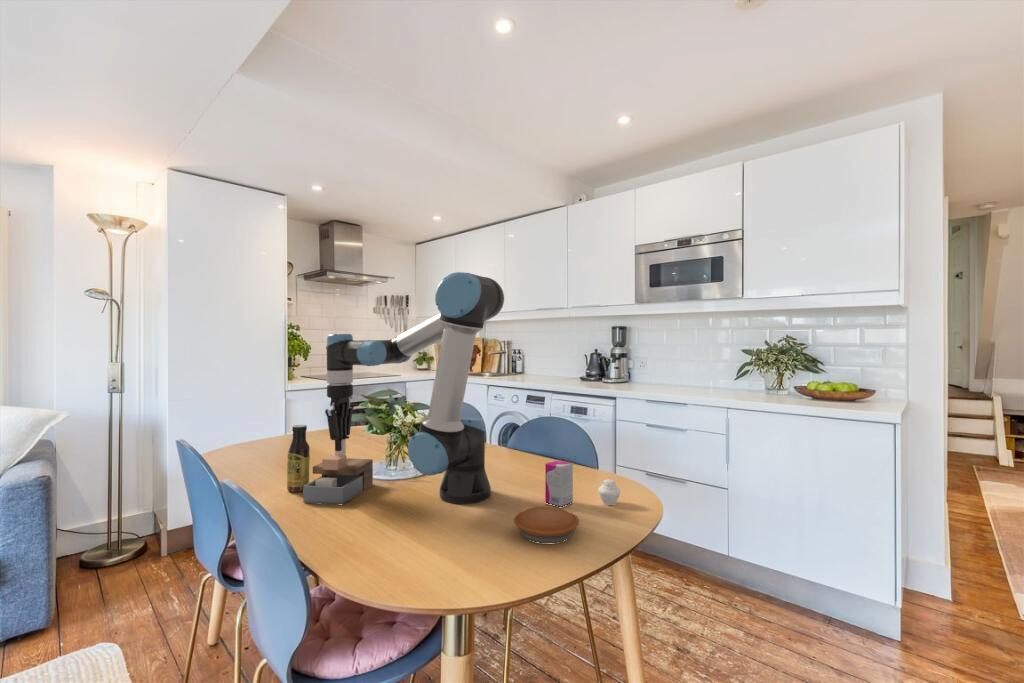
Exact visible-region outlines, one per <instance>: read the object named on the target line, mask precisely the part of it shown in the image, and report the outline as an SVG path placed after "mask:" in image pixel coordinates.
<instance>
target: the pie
mask: <svg viewBox="0 0 1024 683" xmlns="http://www.w3.org/2000/svg"><path fill="white" fill-rule="evenodd" d="M513 521H514V524H515V526H516V527H517V528H518V529H519V532H520V534H521V535H522V536H523V538H525V539H526V540H527V539H528V541H529V540H531V541H534V542H533V543H535V542H539V543H557V542H561V541H564V540H566V539H567V540H569V538H570V537H571V535H572V534H573V533H574V531H575V529H576V528H577V527H578V526H579V522H580V521H579V518H578V515H576V514H574V513H572V512H569V511H568V510H566V509H564V508H558V507H554V506H550V505H547V506H544V505H543V506H533V507H529V508H526V509H524V510H523V511H520V512H519V513H517V514H516V515H515V517H514V518H513ZM567 540H566V541H567ZM531 541H530V542H531ZM564 542H565V541H564ZM539 543H538V544H539ZM561 543H562V542H561ZM557 544H558V543H557Z"/></svg>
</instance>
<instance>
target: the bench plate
mask: <svg viewBox="0 0 1024 683" xmlns="http://www.w3.org/2000/svg"><path fill="white" fill-rule="evenodd" d="M346 458H347V457H346ZM373 466H374V465H373V458H372V459H371V458H352V457H351V458H347V466H345V467H343V468H341V469H339V470H324V469H322V462H320V463H318V464H315V465H314V466H312V474H313V475H314V474H315V475H321V476H323V475H325V474H333V475H359V476H363V491H365V490H367V489H368V488H369V487H372V485H374V484H373V483H374V481H373V480H374V478H373V477H374V476H373V475H374V473H373V471H374V470H373V469H374V468H373ZM366 488H367V489H366Z"/></svg>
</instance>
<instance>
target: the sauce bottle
mask: <svg viewBox="0 0 1024 683" xmlns="http://www.w3.org/2000/svg"><path fill="white" fill-rule="evenodd" d="M307 427H308V426H307V424H296V425H295V424H294V425H293V426H292V428H291V429H292V430H291V431H292V440H291V444H290V446H289V448H288V452H287V467H286V468H287V470H286V474H287V475H286V476H287V477H286V486H287V487H286V488H287V491H288V492H291V493H294V492H295V493H299V491H300V492H303V486H304V485H306V484H308V483H310V459H311V458H310V444H309V443H308V442H307Z"/></svg>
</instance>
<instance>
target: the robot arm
mask: <svg viewBox="0 0 1024 683" xmlns="http://www.w3.org/2000/svg"><path fill="white" fill-rule="evenodd" d="M434 301H435V305H436V306H437V310H438V313H437V314H434V315H433V316H431V317H429V318H427V319H425V320H424V321H422V322H420V323H418V324H416V325H414V326H412V327H411V328H409V329H408V330H406V331H404V332H401V333H400V334H398V335H395V337H393V338H391V339H381V340H380V339H367V340H366V339H363V340H362V339H361V340H359V339H358V340H354V338H353V337H354V336H353V334H351V333H329V334H328V335H327V337H326V346H325V349H326V383H327V386H326V396H327V398H330V402H329V406H330V407H329V408H326V409H325V412H324V413H325V415H326V417H327V418H326V419H327V425H328V431H329V432H328V433H329V439H330V440H331V441H334V455H341V456H346V457H347V454H346V453H347V452H346V450H347V449H346V448H347V447H346V446H347V445H346V444H347V443H346V439H348V440H349V439H350V436H351V425H352V419H353V418H352V416H353V411H354V406H355V405H354V403H350V398H351V397H353V396H354V386H353V385H354V384H352V383H353V382H354V372H353V371H354V370H353V369H354V368H353V367H354V366H365V367H375V366H380V365H387V364H388V365H390V364H402V363H405V362H406V363H407V362H408V361H409V360H410V359H411V357H412V355H414V354H416V353H419V352H421V351H422V350H424V349H426V348H428V347H430V346H432V345H434V344H437V343H438V342H440V341H441V342H440V347H439V354H438V359H437V364H436V370H435V376H434V380H433V386H432V392H431V396H430V397H431V398H430V403H429V408H428V414H426V415H425V416H424V417H422V418H421V420H420V426H419V432H417V433H415V434H414V435H413V436H412V437H411V438H410V439H409V441H408V445H407V455H408V459H409V461H410V462H411V463H412V466H413V467H414V469H415V470H416V471H418V472H419V473H420V474H422V475H425V476H435V475H441V474H443V477H442V480H441V482H440V487H439V499H441V500H442V501H444V502H446V503H447V502H448V503H452V504H459V505H460V504H475V503H479V502H482V501H485V500H487V499H488V498H490V497H491V495H492V494H491V492H492V490H491V484H490V481H489V478H488V475H487V472H486V467H485V463H486V460H485V459H486V458H485V457H486V456H485V454H486V453H485V452H486V451H485V449H486V448H485V446H486V439H485V438H486V430H485V429H486V428H485V422H484V421H483V419H480V418H476V417H475V418H474V417H461V415H462V410H463V404H464V399H465V394H466V388H467V384H468V378H469V373H470V369H471V368H470V367H471V362H472V356H473V352H474V351H473V350H474V347H475V341H476V335H477V333H479V332H480V331H482V330H483V329H484V324H485V322H487V321H489V320H491V319H492V318H495V317H496V316H497V315H498V314H499V313H500V312H501V311H502V309H503V307H504V304H505V294H504V291H503V288H502V286H501V284H499V283H498V282H497V281H496V280H495V279H492V278H490V277H487V276H481V275H477V274H474V273H471V272H464V271H463V272H461V271H456V272H452V273H449V274H448V275H447V276H445V277H443V279H441V281H440V282H439V283H438V285H437V287H436V290H435V294H434Z"/></svg>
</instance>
